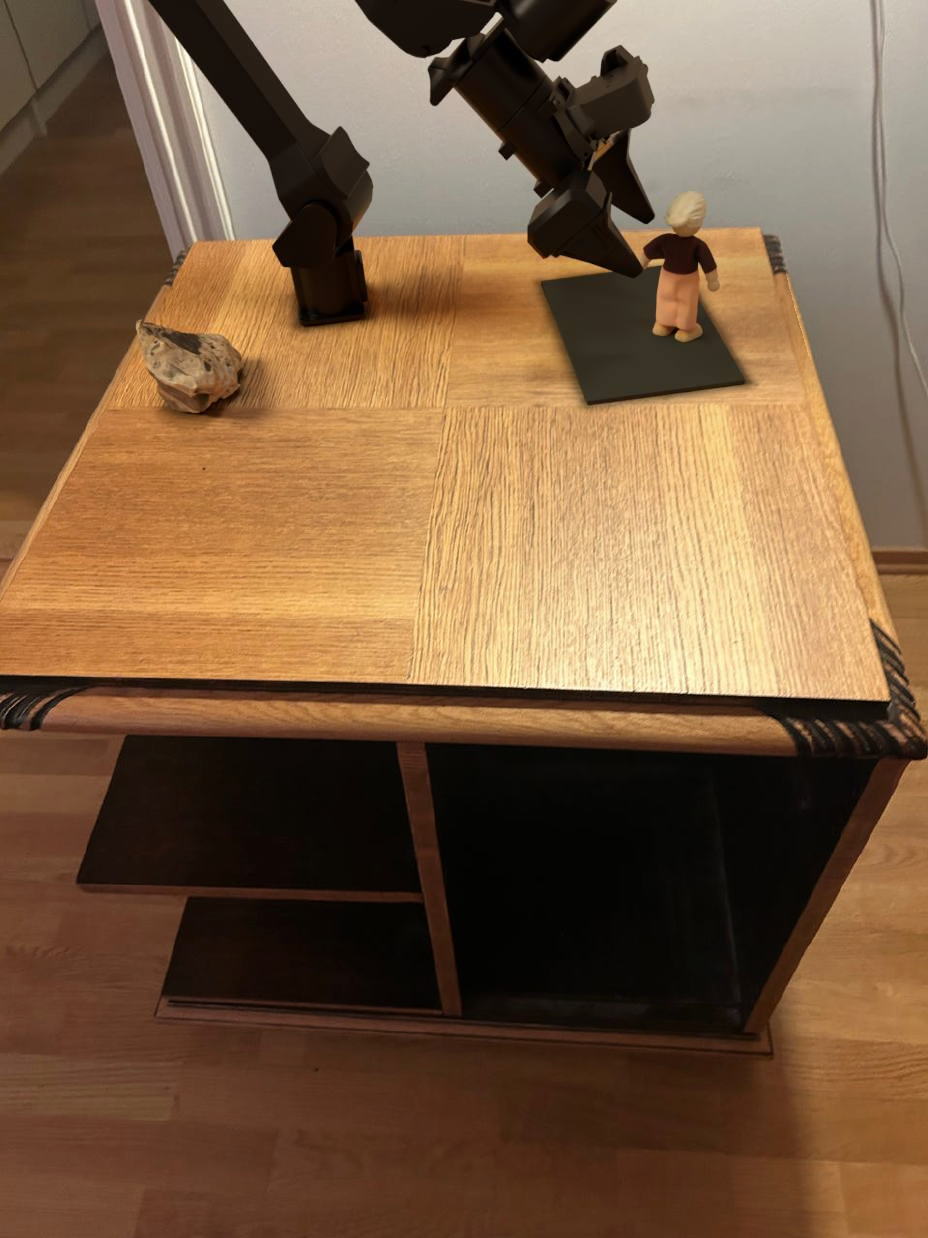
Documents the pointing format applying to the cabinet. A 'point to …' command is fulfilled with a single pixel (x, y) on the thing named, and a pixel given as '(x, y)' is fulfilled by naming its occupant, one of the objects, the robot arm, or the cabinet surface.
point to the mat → (632, 339)
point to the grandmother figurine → (681, 267)
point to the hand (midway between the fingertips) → (645, 246)
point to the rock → (189, 366)
